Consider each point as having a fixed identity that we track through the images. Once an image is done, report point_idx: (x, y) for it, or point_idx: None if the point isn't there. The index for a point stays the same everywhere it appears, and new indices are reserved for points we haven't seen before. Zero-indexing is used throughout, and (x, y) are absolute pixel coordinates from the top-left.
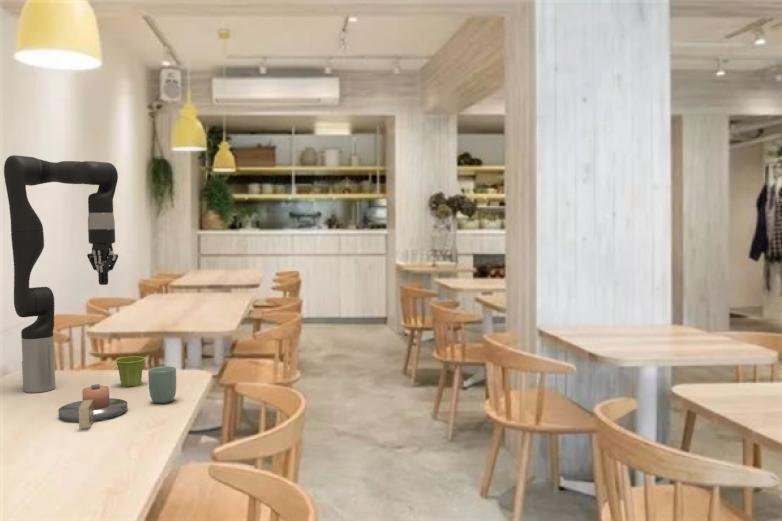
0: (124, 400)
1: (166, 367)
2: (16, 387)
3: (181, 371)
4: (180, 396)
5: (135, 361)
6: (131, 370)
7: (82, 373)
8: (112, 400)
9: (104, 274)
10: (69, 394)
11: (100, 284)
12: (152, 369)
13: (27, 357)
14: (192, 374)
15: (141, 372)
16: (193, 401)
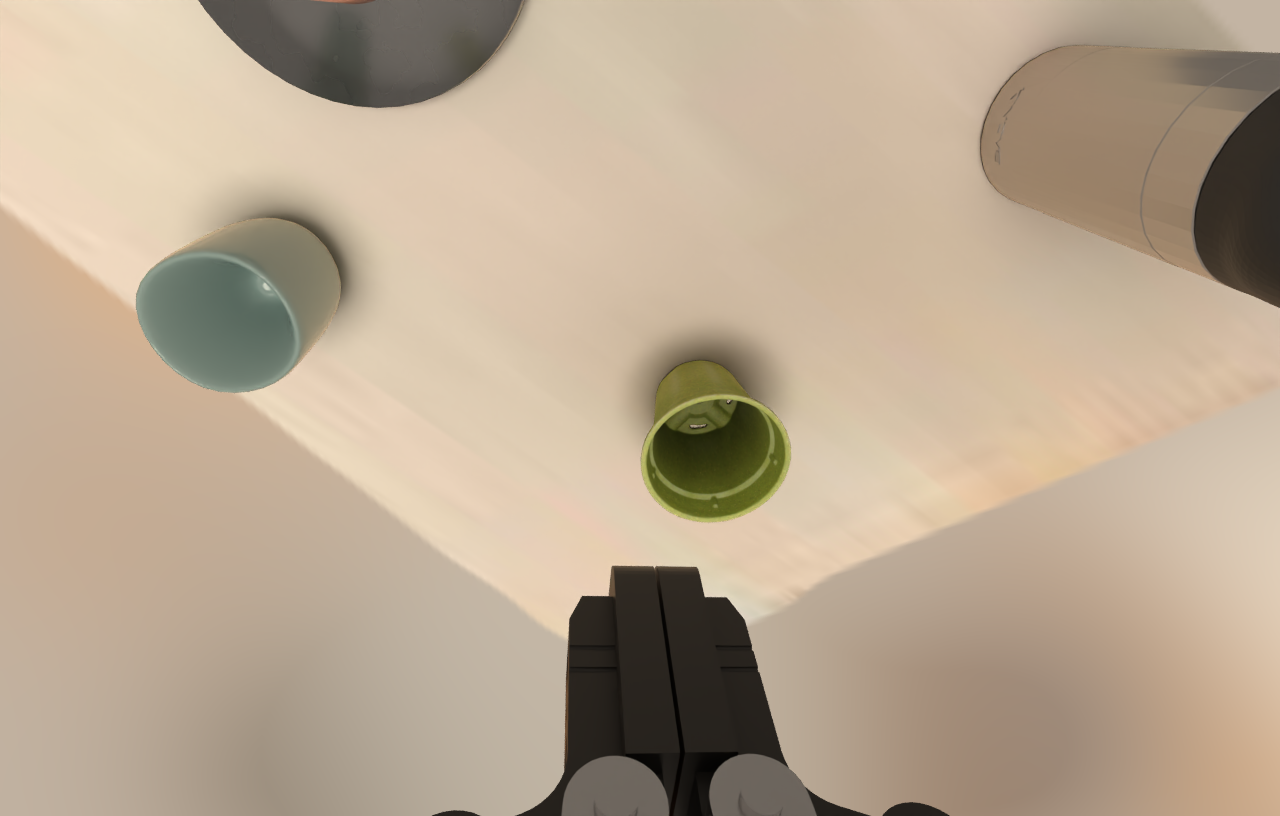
0: (328, 97)
1: (267, 376)
2: None
3: None
4: (319, 367)
5: (736, 492)
6: (663, 408)
7: (1073, 429)
8: (384, 64)
9: (570, 750)
10: (827, 138)
11: (664, 567)
12: (285, 307)
13: (1211, 55)
14: None
15: (658, 448)
16: None
